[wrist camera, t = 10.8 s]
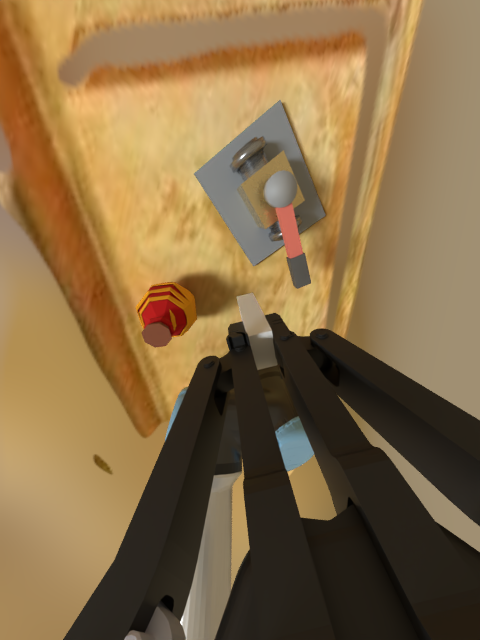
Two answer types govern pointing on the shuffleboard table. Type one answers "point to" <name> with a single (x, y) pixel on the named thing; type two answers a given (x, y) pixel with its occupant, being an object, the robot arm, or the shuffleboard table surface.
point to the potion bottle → (166, 313)
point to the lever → (288, 223)
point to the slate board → (225, 182)
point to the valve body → (261, 184)
